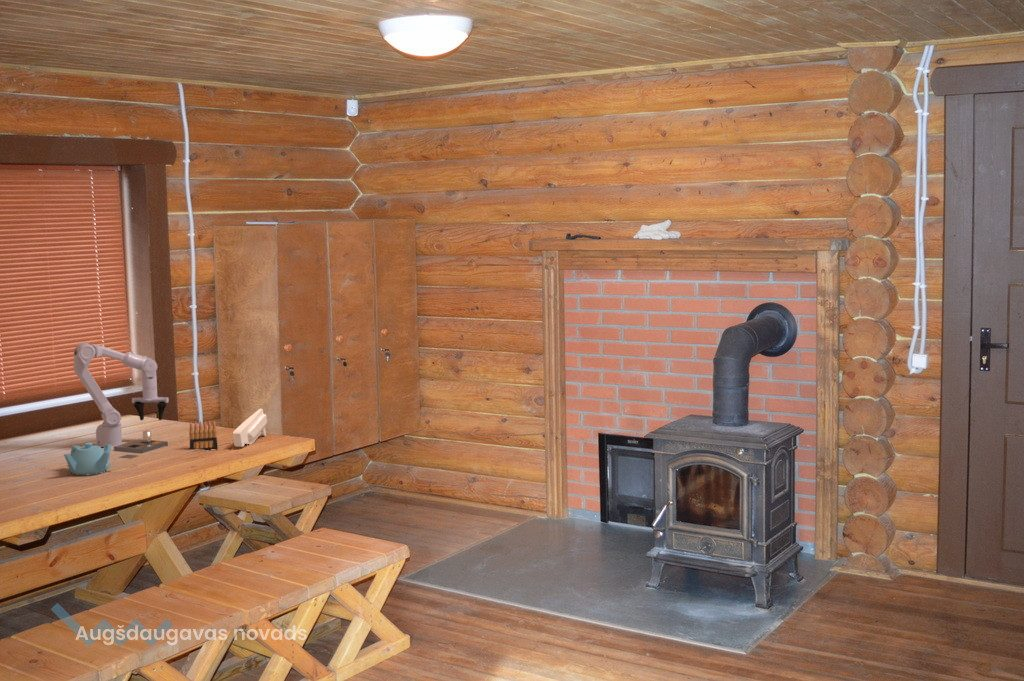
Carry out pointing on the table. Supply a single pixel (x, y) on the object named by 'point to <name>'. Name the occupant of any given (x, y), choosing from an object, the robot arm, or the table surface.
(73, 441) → the table surface
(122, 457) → the tab
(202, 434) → the ammunition clip
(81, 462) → the teapot
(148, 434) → the steel peg
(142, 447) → the plate
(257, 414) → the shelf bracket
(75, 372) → the robot arm
